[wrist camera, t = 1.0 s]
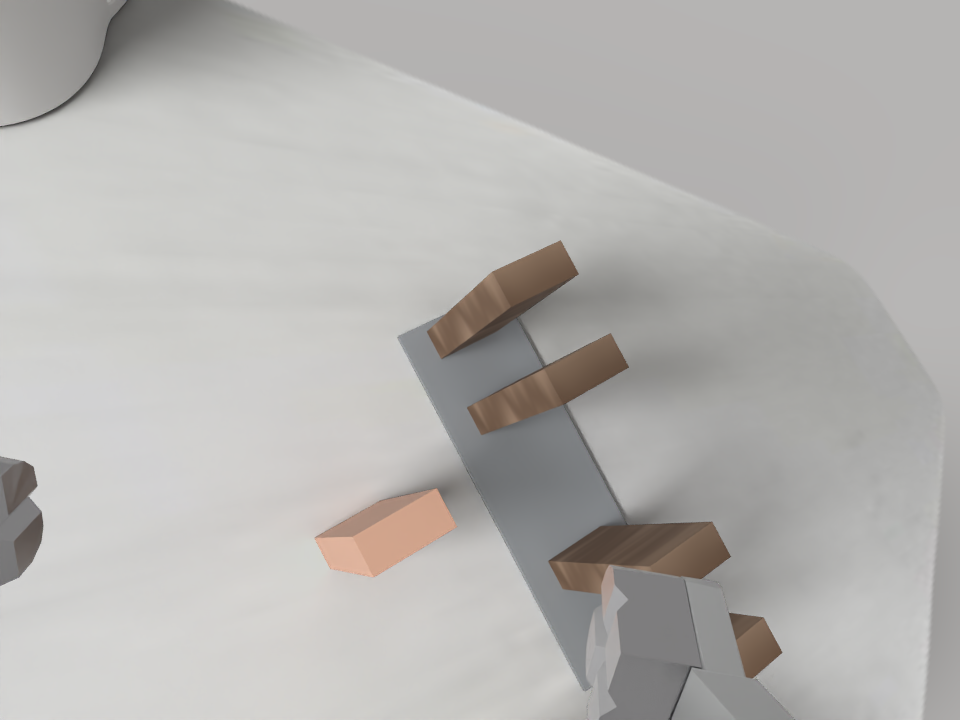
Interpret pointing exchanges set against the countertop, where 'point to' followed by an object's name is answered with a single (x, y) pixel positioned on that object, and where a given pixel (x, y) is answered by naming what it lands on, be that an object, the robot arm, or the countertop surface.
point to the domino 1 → (386, 533)
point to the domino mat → (522, 471)
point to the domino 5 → (754, 643)
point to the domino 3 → (549, 385)
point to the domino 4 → (640, 553)
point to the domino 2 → (502, 298)
